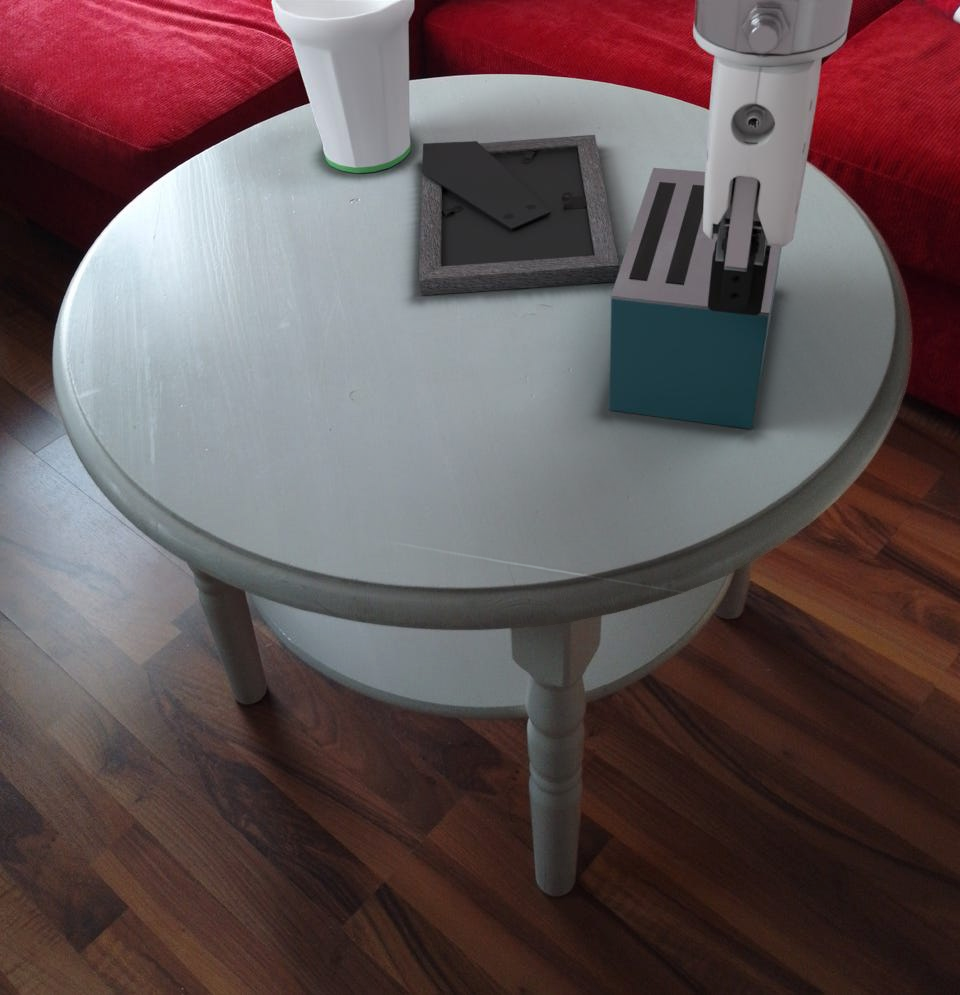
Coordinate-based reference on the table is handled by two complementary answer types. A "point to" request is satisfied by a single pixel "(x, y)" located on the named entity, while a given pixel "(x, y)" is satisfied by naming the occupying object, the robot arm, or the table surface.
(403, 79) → the cup
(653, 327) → the toaster
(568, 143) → the picture frame
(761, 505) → the table surface
